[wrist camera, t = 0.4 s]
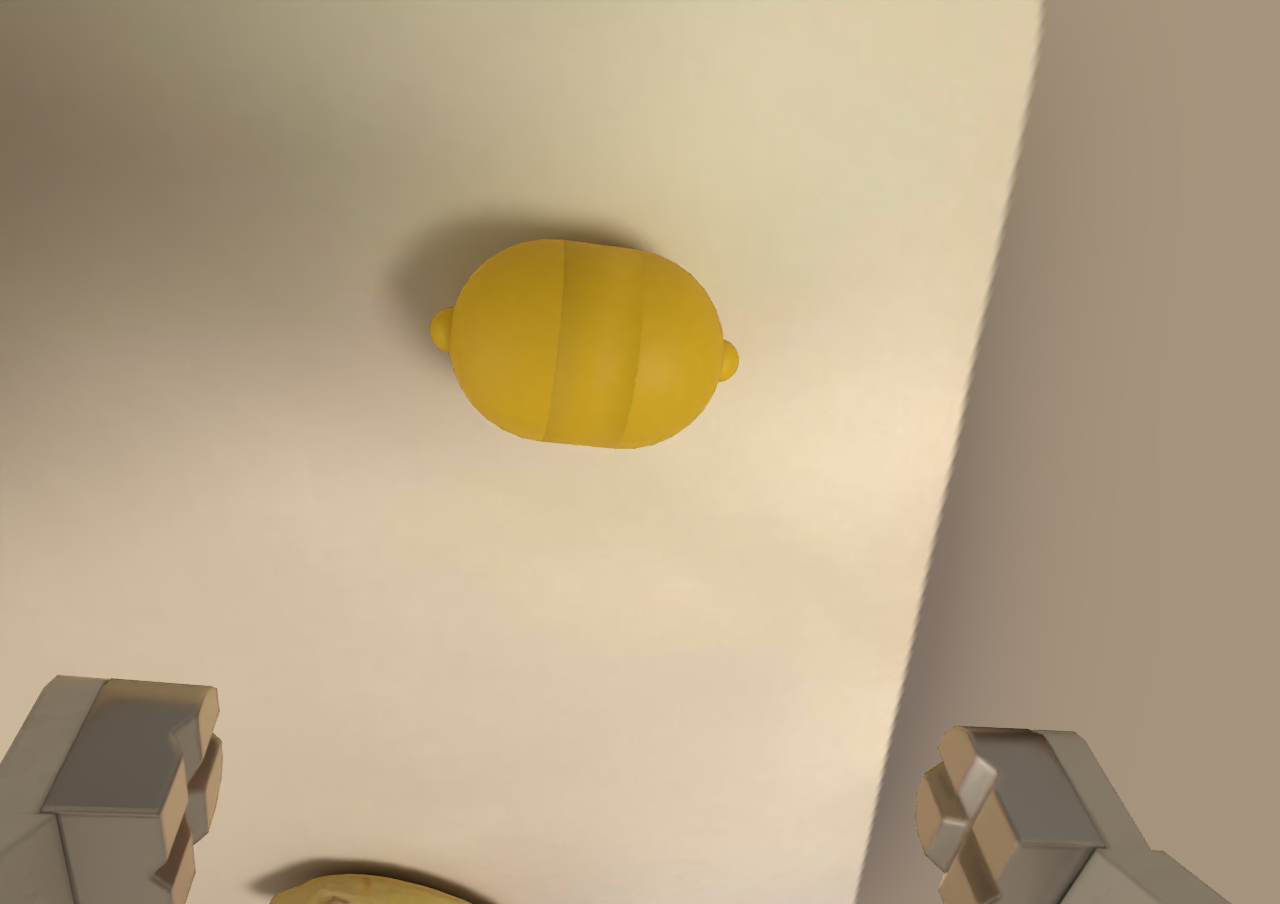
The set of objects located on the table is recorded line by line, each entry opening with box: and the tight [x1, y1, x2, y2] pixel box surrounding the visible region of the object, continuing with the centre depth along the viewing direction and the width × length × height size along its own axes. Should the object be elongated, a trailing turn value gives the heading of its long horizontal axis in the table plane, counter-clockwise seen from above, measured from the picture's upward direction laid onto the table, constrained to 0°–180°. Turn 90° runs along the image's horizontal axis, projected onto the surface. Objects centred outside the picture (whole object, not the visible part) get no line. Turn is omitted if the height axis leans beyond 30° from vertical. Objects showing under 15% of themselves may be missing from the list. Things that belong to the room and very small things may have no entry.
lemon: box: [430, 239, 739, 449], centre depth 27 cm, size 8×5×5 cm, turn 80°
